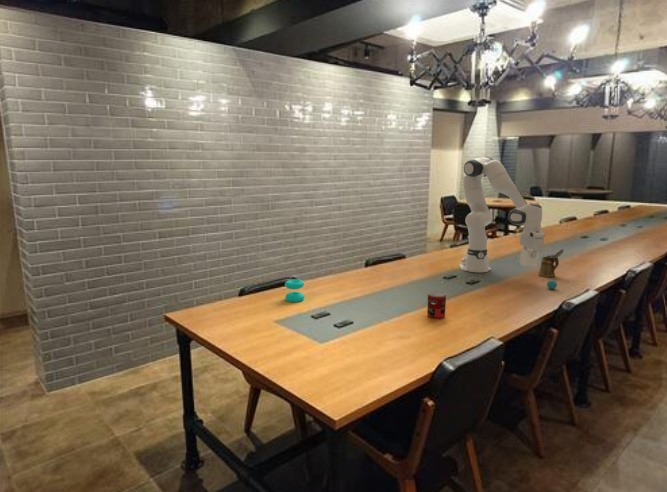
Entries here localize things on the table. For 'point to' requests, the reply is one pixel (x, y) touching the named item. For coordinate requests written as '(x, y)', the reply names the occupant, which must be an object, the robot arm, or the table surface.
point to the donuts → (294, 295)
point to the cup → (528, 258)
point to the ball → (551, 284)
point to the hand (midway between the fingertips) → (529, 255)
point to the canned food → (436, 304)
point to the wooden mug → (549, 265)
